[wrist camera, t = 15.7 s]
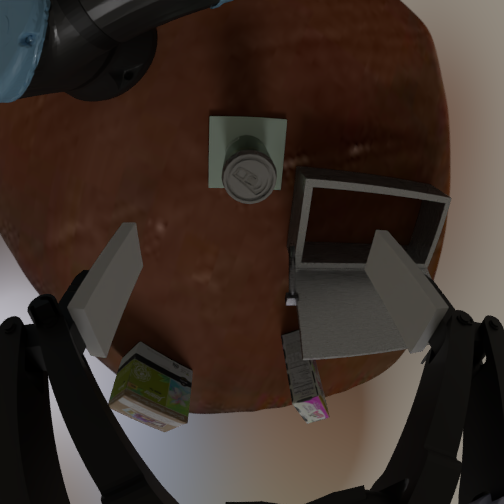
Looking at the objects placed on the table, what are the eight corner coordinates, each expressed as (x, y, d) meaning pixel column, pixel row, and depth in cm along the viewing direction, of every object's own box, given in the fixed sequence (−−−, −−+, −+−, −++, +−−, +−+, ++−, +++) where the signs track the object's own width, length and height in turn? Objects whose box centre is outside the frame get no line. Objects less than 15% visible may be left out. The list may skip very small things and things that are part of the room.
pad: (210, 116, 33) (209, 116, 33) (286, 119, 34) (287, 119, 34) (209, 186, 39) (208, 187, 38) (280, 188, 39) (280, 190, 39)
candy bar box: (315, 355, 60) (330, 417, 46) (295, 362, 61) (306, 424, 47) (303, 326, 54) (319, 396, 41) (279, 334, 55) (290, 404, 41)
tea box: (194, 369, 61) (189, 424, 48) (172, 383, 64) (165, 433, 52) (139, 339, 55) (123, 396, 42) (121, 356, 58) (106, 408, 46)
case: (286, 165, 38) (322, 223, 22) (430, 184, 39) (503, 237, 24) (274, 272, 47) (291, 362, 31) (402, 272, 49) (449, 341, 33)
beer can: (218, 158, 36) (209, 187, 26) (241, 126, 34) (242, 140, 24) (251, 180, 38) (256, 215, 28) (274, 149, 36) (290, 173, 25)
